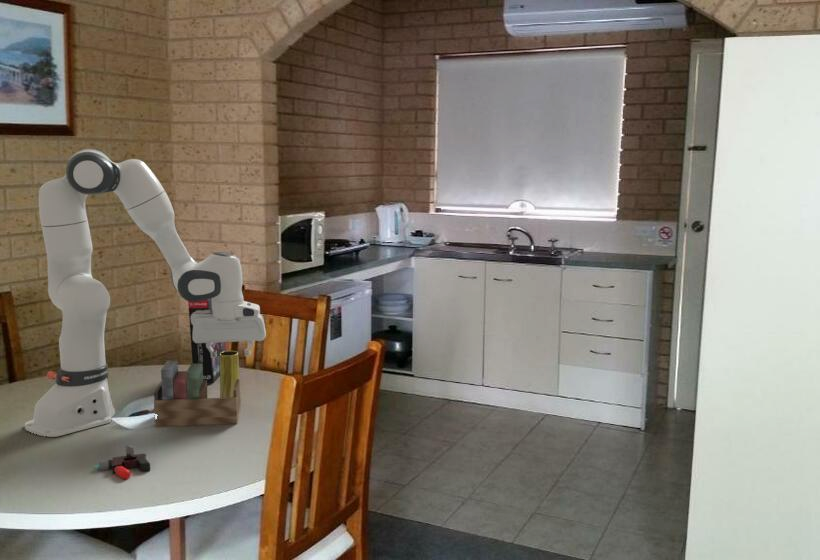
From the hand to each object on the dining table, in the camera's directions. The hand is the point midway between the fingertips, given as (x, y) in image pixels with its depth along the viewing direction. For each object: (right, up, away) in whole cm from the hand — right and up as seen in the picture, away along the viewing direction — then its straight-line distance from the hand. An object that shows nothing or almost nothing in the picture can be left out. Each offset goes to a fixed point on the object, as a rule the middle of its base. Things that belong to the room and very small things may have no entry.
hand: (230, 356), depth 216 cm
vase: (-1, -13, +2) cm, 13 cm away
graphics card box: (-13, -9, +26) cm, 30 cm away
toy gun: (-14, -22, -45) cm, 52 cm away
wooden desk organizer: (-6, -15, -11) cm, 20 cm away
